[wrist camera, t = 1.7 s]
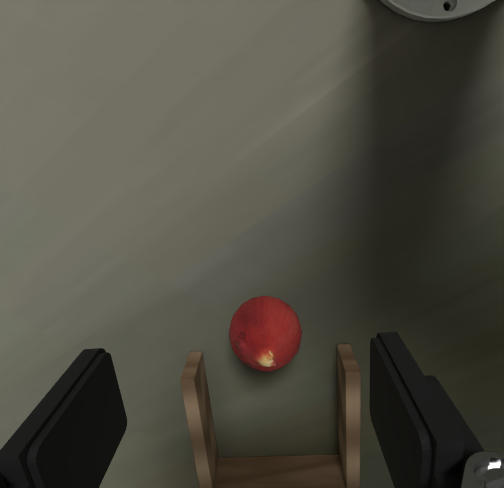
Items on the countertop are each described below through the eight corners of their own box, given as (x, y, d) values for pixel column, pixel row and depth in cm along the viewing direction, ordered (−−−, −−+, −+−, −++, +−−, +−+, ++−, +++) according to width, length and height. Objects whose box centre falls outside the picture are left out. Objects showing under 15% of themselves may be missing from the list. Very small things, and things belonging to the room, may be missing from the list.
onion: (258, 348, 34) (255, 411, 26) (221, 303, 33) (206, 357, 25) (309, 317, 33) (322, 374, 25) (273, 269, 31) (274, 314, 24)
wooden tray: (189, 352, 34) (180, 379, 31) (350, 343, 33) (360, 371, 30) (209, 466, 39) (202, 503, 35) (350, 462, 38) (359, 499, 34)
